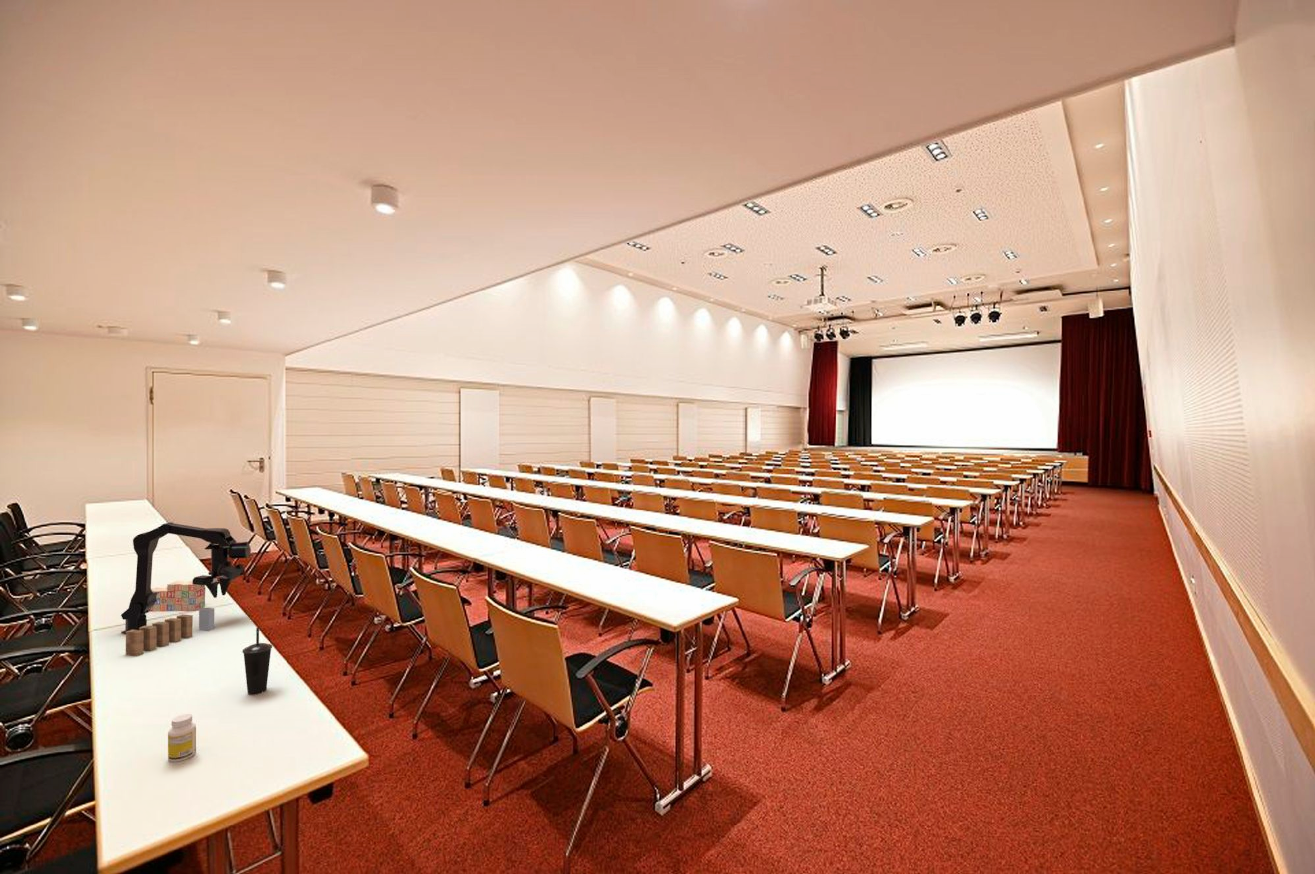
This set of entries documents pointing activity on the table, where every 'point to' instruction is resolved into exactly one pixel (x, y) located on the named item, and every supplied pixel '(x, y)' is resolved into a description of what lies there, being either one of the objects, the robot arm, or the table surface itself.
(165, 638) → the domino
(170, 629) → the domino
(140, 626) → the robot arm
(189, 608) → the stack of blocks
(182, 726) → the supplement bottle
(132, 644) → the domino
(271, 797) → the table surface
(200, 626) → the slate domino
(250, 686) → the drinking cup
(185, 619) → the domino
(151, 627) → the domino
